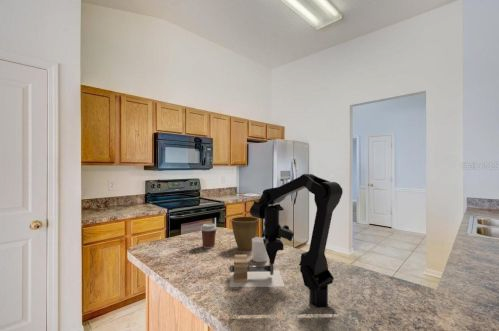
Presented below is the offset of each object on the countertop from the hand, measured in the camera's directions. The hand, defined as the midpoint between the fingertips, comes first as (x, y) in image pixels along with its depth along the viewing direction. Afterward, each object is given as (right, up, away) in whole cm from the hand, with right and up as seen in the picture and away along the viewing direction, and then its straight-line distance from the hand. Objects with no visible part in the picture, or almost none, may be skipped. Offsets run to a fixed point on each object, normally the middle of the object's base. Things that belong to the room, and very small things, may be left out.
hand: (271, 261), depth 92 cm
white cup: (-4, -8, +19) cm, 21 cm away
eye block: (-12, -6, 0) cm, 14 cm away
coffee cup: (-31, -8, +39) cm, 51 cm away
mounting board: (-6, -7, 0) cm, 9 cm away
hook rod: (-8, -5, 0) cm, 9 cm away
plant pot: (-11, -8, +37) cm, 39 cm away
